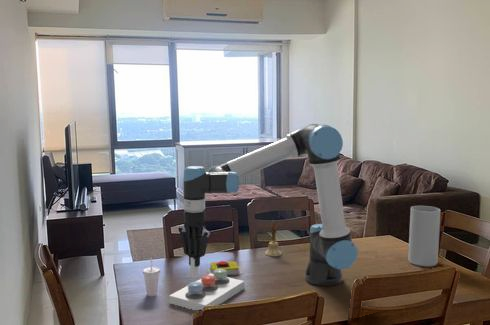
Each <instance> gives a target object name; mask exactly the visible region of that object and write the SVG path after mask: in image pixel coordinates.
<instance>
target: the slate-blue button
mask: <svg viewBox="0 0 490 325" xmlns="http://www.w3.org/2000/svg"><path fill="white" fill-rule="evenodd" d="M187 286H188V292H190V293H200V292H202V291H203V284H202V283H200V282H196V281H193V282H189V283H188V284H187Z"/></svg>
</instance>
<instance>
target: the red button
mask: <svg viewBox="0 0 490 325" xmlns="http://www.w3.org/2000/svg"><path fill="white" fill-rule="evenodd" d="M200 279H201V283H202V284H203V285H204V286H212V285H214V284H215V277H214V276H212V275H209V274H207V275H203V276H201V277H200Z"/></svg>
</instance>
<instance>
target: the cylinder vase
mask: <svg viewBox="0 0 490 325" xmlns="http://www.w3.org/2000/svg"><path fill="white" fill-rule="evenodd" d="M440 224H441V209H440V208H439V207H436V206H429V205H414V206H413V205H412V206H410V216H409V233H408V234H409V235H408V236H409V238H408V258H407V259H408V262H410V264H412V265H415V266H418V267H428V268H429V267H434V266H436V265H438V262H439V261H438V260H439V244H440V229H441V228H440V227H441V226H440Z"/></svg>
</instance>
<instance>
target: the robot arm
mask: <svg viewBox="0 0 490 325" xmlns="http://www.w3.org/2000/svg"><path fill="white" fill-rule="evenodd" d="M343 143H344V142H343V136H342V135H341V133H340V132H339V131H338V130H337V129H336V128H334V127H333V126H331V125H328V124H319V123H310V124H307V125H304V126H302V127H300V128H298V129H296V130H293V131H292V132H290V133H288V134H286V135H285V137H284V138H282V139H280V140H278V141H275V142H273V143H270V144H268V145H266V146H263V147H261V148H258V149H256V150H254V151H251V152H248V153H246V154H244V155H242V156H239V157H237V158H235V159H231V160H229V161H227V162H225V163H222V164H220V165H213V166H211V167H210V168H209V169H208V170H207V171H206V168H205V167H204V166H200V165H199V166H197V165H190V166H187V167H186V166H185V168H184V170H183V209H184V211H183V222H184V223H183V226H181V227H178V232H179V234H180V240H181V244H182V248H183V253H184V255H186V256H188V265H189V266H190V276H192V277H195V276H197V275H199V266H201V258H202V257H204V256H206V251H207V247H208V241H209V237H210V236H211V234H212V231H211V230H207V229H206V225H205V221H206V211H205V209H206V194H232V193H233V194H234V193H237V192H239V189H240V179H241V178H243V177H247V176H248V175H250V174H253V173H255V172H259V171H260V170H263V169H265V168H267V167H269V166H272V165H274V164H277V163H279V162H282V161H284V160H286V159H289V158H292V157H294V158H298V157H300V156H304V155H307V158H308V159H307V160H308V165H309V166H311V167H312V168H313V171H314V179H315V186H316V193H317V199H318V205H319V206H318V207H319V212H320V219H321V223H316V224H312V225H311V226H310V232H309V261H308V264H307V266H306V270H305V272H304V279H305V281H306V282H307V283H310V284H312V285H315V286H321V287H332V286H337V285H340V284H341V283H342V282H343V273H342V270H346V269H348V268H350V267H351V266H352V265H354V263H356V260H357V259H358V253H359V252H358V247H357V246H356V243H354V241H353V238H352V233H351V232H352V231H351V229H350V228H349V227H348V226H347V225H346V220H345V214H344V213H345V212H344V205H343V199H342V193H341V192H342V191H341V190H342V189H341V184H340V176H339V169H338V164H339V163H340V161H341V151H342V149H343V145H344V144H343Z"/></svg>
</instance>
